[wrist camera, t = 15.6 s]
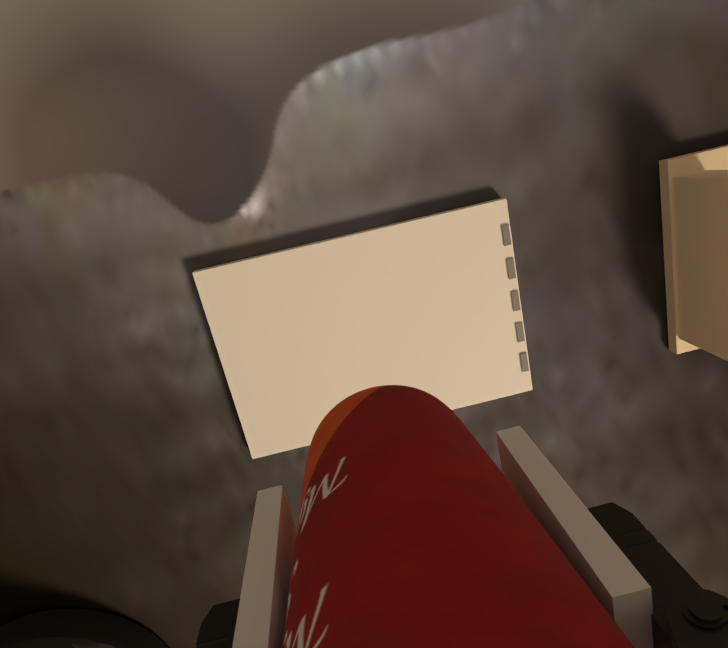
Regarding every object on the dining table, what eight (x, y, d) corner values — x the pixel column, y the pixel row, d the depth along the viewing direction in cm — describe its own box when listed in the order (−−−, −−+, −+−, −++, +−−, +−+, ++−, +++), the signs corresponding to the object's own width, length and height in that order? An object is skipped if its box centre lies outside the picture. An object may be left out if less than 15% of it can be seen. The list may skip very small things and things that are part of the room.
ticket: (253, 452, 34) (252, 459, 33) (195, 270, 30) (191, 273, 29) (527, 384, 34) (533, 390, 33) (501, 197, 31) (506, 198, 30)
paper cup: (239, 402, 17) (0, 1191, 4) (460, 319, 17) (978, 837, 4) (325, 583, 20) (358, 1468, 6) (520, 510, 20) (977, 1248, 6)
